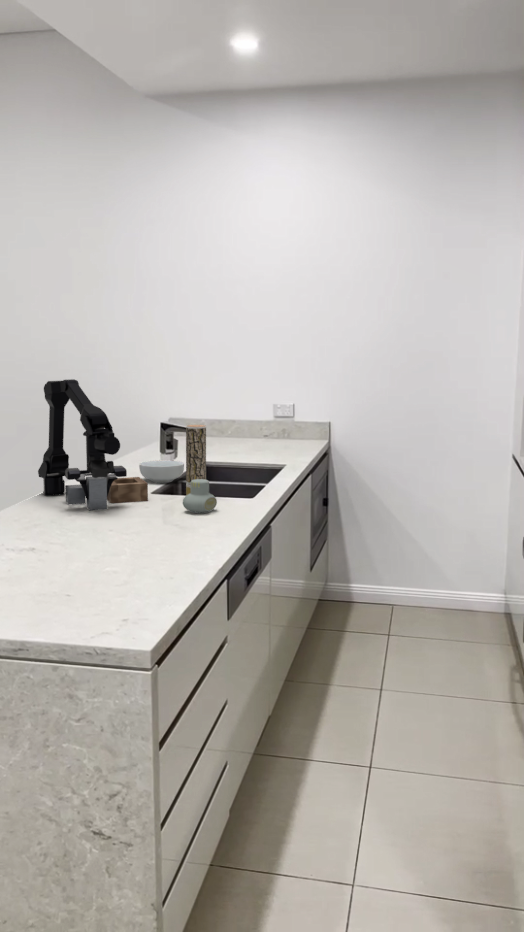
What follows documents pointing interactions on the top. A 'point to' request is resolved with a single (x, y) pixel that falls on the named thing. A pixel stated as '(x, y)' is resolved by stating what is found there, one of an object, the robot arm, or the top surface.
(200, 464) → the bark textured wooden post
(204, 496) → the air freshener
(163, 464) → the cereal bowl
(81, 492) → the gray cube
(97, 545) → the top surface
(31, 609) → the top surface
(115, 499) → the brown wooden open box
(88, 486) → the grey rectangular block
